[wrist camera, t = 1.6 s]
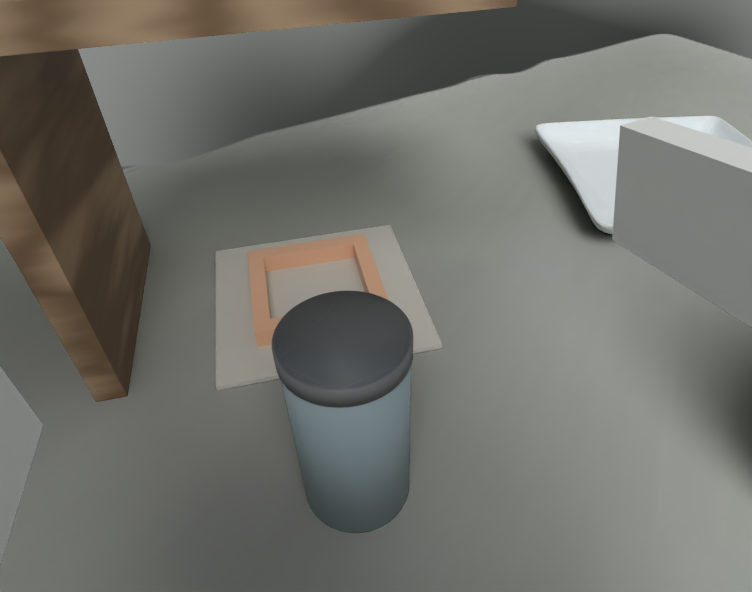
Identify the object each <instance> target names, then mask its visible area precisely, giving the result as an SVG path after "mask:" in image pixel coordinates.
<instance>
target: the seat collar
mask: <svg viewBox="0 0 752 592" xmlns="http://www.w3.org/2000/svg"><path fill="white" fill-rule="evenodd" d="M348 290H349V291H361V292H367V293H372V294H375V295H378V296H381V297H383V298H385V299H387V300H389V301H391V302H392V303H394V304H395V305H396V306H398V307H399V308H400V309H401V310H402V311H403V312H404V313H405V315H406V316H407V317H408V319H409V321H410V323H411V326H412V329H413V337H414V338H413V354H414V353H420V352H425V351H430V350H436V349H441V348H442V342H441V340H440V338H439V336H438V333H437V331H436V329H435V326H434V324H433V322H432V320H431V317H430V315H429V313H428V310H427V308H426V306H425V304H424V301H423V299H422V297H421V294H420V292H419V290H418V288H417V285H416V283H415V281H414V278H413V276H412V274H411V272H410V269H409V267H408V265H407V262H406V260H405V258H404V256H403V253H402V251H401V249H400V246H399V244H398V242H397V240H396V237H395V235H394V233H393V230H392V228H391V226H390V225H384V226H377V227H371V228H364V229H358V230H351V231H344V232H338V233H331V234H325V235H318V236H311V237H305V238H298V239H292V240H285V241H278V242H272V243H265V244H259V245H252V246H246V247H239V248H232V249H226V250H219V251H216V389H217V390H222V389H227V388H233V387H238V386H243V385H249V384H254V383H259V382H265V381H270V380H275V379H280V378H279V376H278V373H277V371H276V366H275V362H274V358H273V353H272V337H273V334H274V331H275V328H276V327H277V325H278V323H279V322H280V320H281V319H282V318H283V316H284V315H285V314H286V313H287V312H288V311H290V310H291V309H292V308H293V307H295V306H296V305H298V304H299V303H301V302H303V301H305V300H307V299H309V298H312V297H314V296H317V295H320V294H324V293H328V292H334V291H348Z"/></svg>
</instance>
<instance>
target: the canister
mask: <svg viewBox="0 0 752 592" xmlns="http://www.w3.org/2000/svg"><path fill="white" fill-rule="evenodd" d="M413 338H414V337H413V329H412V326H411V323H410V321H409V319H408V317H407V316H406V315H405V313H404V312H403V311H402V310H401V309H400V308H399V307H398V306H396V305H395V304H394V303H392V302H391V301H389V300H387V299H385V298H383V297H381V296H378V295H375V294H372V293H367V292H361V291H349V290H348V291H334V292H328V293H324V294H320V295H317V296H314V297H312V298H309V299H307V300H305V301H303V302H301V303H299V304H298V305H296V306H295V307H293V308H292V309H291V310H290V311H288V312H287V313H286V314H285V315H284V316H283V318H282V319H281V320H280V322H279V323H278V325H277V327H276V328H275V331H274V334H273V337H272V353H273V358H274V362H275V366H276V371H277V373H278V376H279V378H280V380H281V383H282V387H283V392H284V396H285V401H286V405H287V410H288V414H289V419H290V423H291V428H292V432H293V437H294V441H295V446H296V450H297V455H298V459H299V464H300V468H301V473H302V477H303V482H304V486H305V491H306V495H307V500H308V503H309V505H310V507H311V509H312V511H313V512H314V514H315V515H316V516H317V517H318V518H319V519H320V520H321V521H322V522H323V523H325V524H326V525H328V526H330V527H331V528H333V529H336V530H339V531H343V532H348V533H362V532H368V531H372V530H375V529H377V528H380V527H382V526H383V525H385V524H387V523H388V522H389V521H391V520H392V519H393V518H394V517H395V516H396V515H397V514H398V513H399V511H400V510H401V509H402V507H403V505H404V503H405V501H406V499H407V496H408V491H409V462H410V389H411V364H412V360H413Z"/></svg>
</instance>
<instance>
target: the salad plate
mask: <svg viewBox="0 0 752 592" xmlns="http://www.w3.org/2000/svg"><path fill="white" fill-rule="evenodd" d="M641 119H644V118H636V119H616V120H594V121H576V122H557V123H544V124H539V125H536V127H535V132H536V134H537V136H538V138H539V140H540V141H541V143H542V144H543V146H544V147H545V148H546V149H547V150H548V152H549V153H550V154H551V155H552V157H553V158H554V159H555V161H556V162H557V163H558V165H559V166H560V167H561V169H562V170H563V172H564V173H565V175H566V176H567V178H568V179H569V181H570V182H571V184H572V185H573V187H574V188H575V190H576V192H577V193H578V195H579V197H580V199H581V201H582V202H583V204H584V206H585V208H586V210H587V212H588V214H589V216H590V218H591V220H592V221H593V223H594V224H595V226H596V227H597V228H598V229H599V230H601V231H603V232H606V233H609V234H613V221H614V207H615V192H616V178H617V163H618V149H619V134H620V125H623V124H627V123H630V122H634V121H637V120H641ZM659 119H662V120H665V121H668V122H671V123H675V124H678V125H681V126H684V127H687V128H691V129H694V130H697V131H700V132H703V133H706V134H710V135H713V136H716V137H719V138H722V139H726V140H729V141H732V142H735V143H738V144H741V145H745V146H748V147H751V148H752V141H751V140H750V139H748V138H747V137H746V136H744V135H743V134H742V133H740V132H739V131H738V130H736V129H735V128H734V127H732V126H731V125H730V124H728V123H727V122H725V121H724V120H722V119H721V118H719V117H715V116H691V117H662V118H659Z"/></svg>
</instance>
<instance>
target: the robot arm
mask: <svg viewBox="0 0 752 592" xmlns="http://www.w3.org/2000/svg"><path fill="white" fill-rule="evenodd" d="M612 240H613V241H615V242H616V243H618V244H620V245H621V246H623V247H624V248H626V249H628V250H629V251H631V252H632V253H634V254H636V255H637V256H639V257H640V258H642V259H643V260H645V261H647V262H648V263H650V264H651V265H653V266H655V267H656V268H658V269H659V270H661V271H662V272H664V273H666V274H667V275H669V276H670V277H672V278H674V279H675V280H677V281H678V282H680V283H681V284H683V285H685V286H686V287H688V288H689V289H691V290H693V291H694V292H696V293H697V294H699V295H700V296H702V297H704V298H705V299H707V300H708V301H710V302H712V303H713V304H715V305H716V306H718V307H719V308H721V309H723V310H724V311H726V312H727V313H729V314H731V315H732V316H734V317H735V318H737V319H739V320H740V321H742V322H743V323H745V324H746V325H748V326H750V327H751V328H752V148H751V147H748V146H745V145H741V144H738V143H735V142H732V141H729V140H726V139H722V138H719V137H716V136H713V135H710V134H706V133H703V132H700V131H697V130H694V129H691V128H687V127H684V126H681V125H678V124H675V123H671V122H668V121H665V120H662V119H659V118H655V117H652V116H651V117H647V118H644V119H641V120H637V121H634V122H630V123H627V124H623V125H620V134H619V149H618V163H617V178H616V192H615V207H614V221H613V236H612ZM42 428H43V424H42V423H41V421H40V420H39V419H38V417H37V416H36V414H35V413H34V412H33V410H32V409H31V408H30V406H29V405H28V404H27V402H26V401H25V399H24V398H23V397H22V395H21V394H20V393H19V391H18V390H17V388H16V387H15V386H14V384H13V383H12V382H11V380H10V379H9V378H8V376H7V375H6V373H5V372H4V371H3V369H2V368H1V367H0V564H1V561H2V558H3V554H4V551H5V548H6V545H7V541H8V538H9V535H10V532H11V528H12V525H13V522H14V519H15V515H16V512H17V509H18V506H19V502H20V499H21V496H22V493H23V489H24V486H25V483H26V480H27V476H28V473H29V470H30V467H31V463H32V460H33V457H34V454H35V450H36V447H37V444H38V441H39V437H40V434H41V431H42Z"/></svg>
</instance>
